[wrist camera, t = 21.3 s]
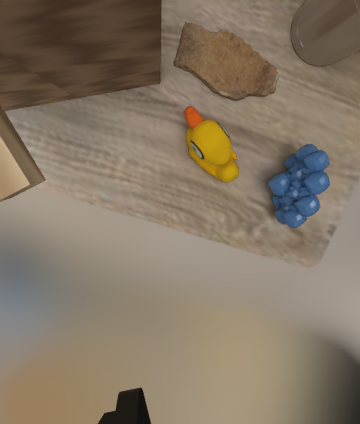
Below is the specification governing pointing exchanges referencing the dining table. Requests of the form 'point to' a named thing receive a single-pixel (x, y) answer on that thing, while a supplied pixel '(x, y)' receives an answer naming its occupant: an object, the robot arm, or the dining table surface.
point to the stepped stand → (76, 48)
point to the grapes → (300, 186)
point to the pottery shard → (225, 63)
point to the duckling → (210, 146)
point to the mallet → (15, 162)
